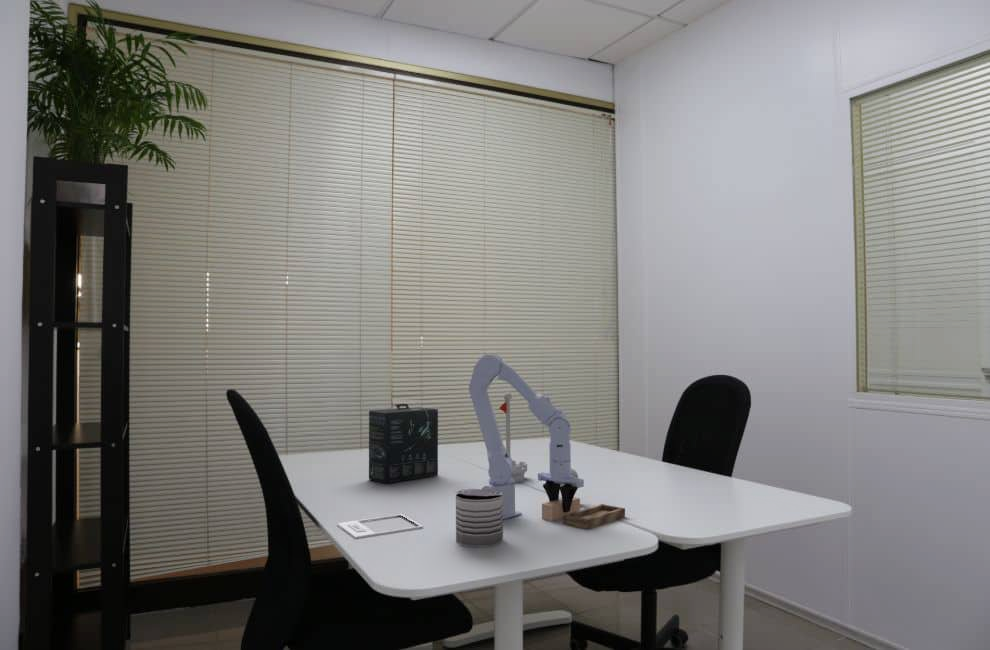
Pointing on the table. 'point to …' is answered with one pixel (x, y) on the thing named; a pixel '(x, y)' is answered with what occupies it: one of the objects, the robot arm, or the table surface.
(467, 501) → the can
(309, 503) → the table surface
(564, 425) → the robot arm
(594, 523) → the wooden tray
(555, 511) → the block
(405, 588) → the table surface
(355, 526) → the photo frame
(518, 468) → the flag stand
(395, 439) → the headset box
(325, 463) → the table surface
